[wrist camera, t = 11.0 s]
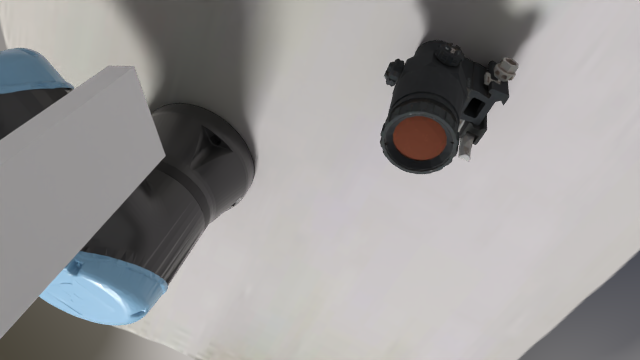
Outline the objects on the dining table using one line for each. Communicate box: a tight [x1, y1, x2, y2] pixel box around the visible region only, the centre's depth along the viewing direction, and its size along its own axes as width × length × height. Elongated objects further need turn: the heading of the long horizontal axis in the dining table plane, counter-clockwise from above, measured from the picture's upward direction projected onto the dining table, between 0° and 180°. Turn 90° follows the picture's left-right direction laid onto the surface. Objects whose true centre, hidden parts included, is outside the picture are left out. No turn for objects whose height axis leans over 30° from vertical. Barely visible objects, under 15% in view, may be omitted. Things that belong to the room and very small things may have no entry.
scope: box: [380, 40, 518, 174], centre depth 37 cm, size 8×14×10 cm
